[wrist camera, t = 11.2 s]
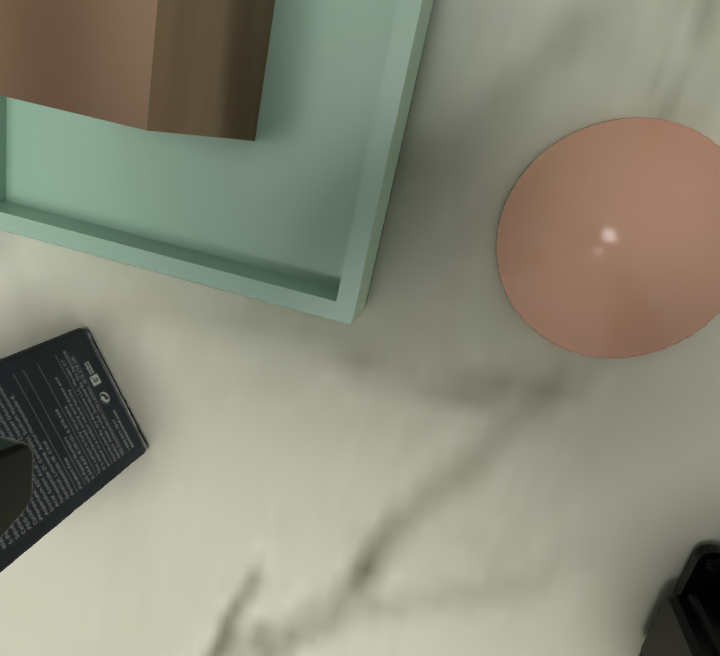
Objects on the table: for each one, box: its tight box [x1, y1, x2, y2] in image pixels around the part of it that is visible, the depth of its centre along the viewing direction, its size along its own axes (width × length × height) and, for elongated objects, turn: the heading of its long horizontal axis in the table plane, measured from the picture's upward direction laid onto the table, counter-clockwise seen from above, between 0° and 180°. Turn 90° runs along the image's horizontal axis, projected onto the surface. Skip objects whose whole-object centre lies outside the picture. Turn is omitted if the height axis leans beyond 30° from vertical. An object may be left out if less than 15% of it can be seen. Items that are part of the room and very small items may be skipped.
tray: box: [0, 0, 434, 325], centre depth 16 cm, size 14×14×2 cm
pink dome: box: [496, 118, 720, 358], centre depth 17 cm, size 7×7×1 cm
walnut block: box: [0, 0, 275, 141], centre depth 14 cm, size 5×5×6 cm
